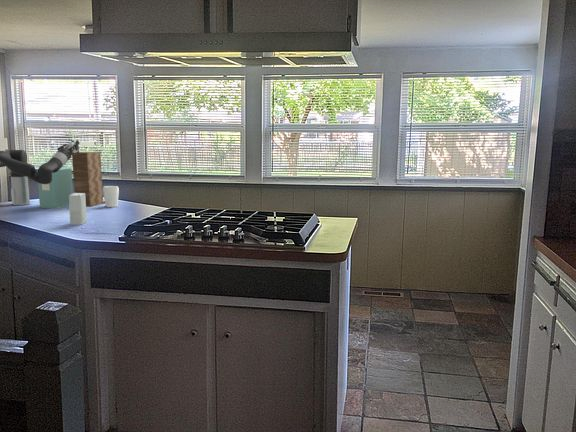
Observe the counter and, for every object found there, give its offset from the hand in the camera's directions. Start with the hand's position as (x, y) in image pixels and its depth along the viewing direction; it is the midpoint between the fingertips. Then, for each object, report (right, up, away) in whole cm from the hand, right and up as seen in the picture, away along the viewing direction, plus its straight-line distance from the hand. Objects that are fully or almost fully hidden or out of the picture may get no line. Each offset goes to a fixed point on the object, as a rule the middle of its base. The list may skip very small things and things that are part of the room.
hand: (76, 141), depth 306 cm
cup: (+18, -38, +9) cm, 43 cm away
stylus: (+1, -2, +6) cm, 6 cm away
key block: (-16, -37, +10) cm, 42 cm away
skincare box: (+21, -47, -48) cm, 70 cm away
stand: (+2, -37, +16) cm, 40 cm away
